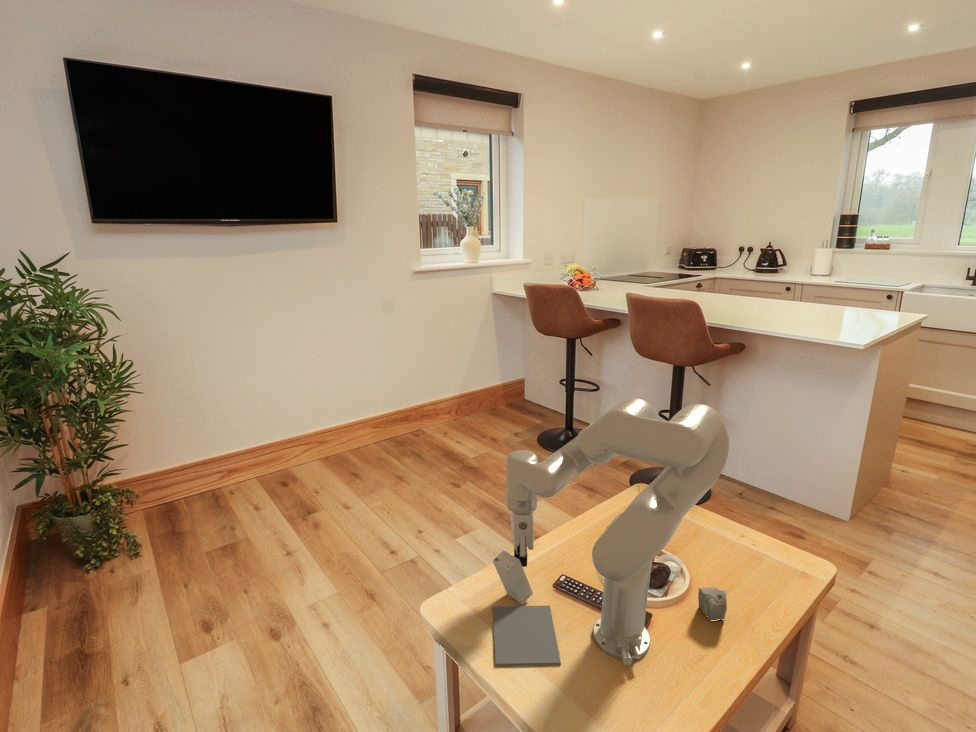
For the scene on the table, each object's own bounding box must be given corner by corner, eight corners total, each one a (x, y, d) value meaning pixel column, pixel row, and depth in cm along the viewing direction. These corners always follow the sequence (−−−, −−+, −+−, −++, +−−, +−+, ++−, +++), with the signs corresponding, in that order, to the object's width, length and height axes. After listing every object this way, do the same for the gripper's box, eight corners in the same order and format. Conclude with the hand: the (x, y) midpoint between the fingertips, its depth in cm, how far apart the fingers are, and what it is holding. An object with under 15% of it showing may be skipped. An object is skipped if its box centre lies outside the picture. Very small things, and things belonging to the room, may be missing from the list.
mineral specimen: (685, 605, 129) (695, 577, 127) (717, 609, 130) (727, 581, 128) (700, 627, 122) (711, 597, 120) (734, 631, 123) (744, 602, 121)
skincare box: (533, 593, 131) (521, 558, 126) (521, 606, 129) (508, 571, 124) (517, 582, 136) (504, 548, 131) (505, 594, 133) (491, 560, 129)
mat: (560, 664, 113) (560, 662, 112) (495, 666, 112) (495, 663, 112) (549, 607, 129) (549, 605, 129) (492, 608, 128) (493, 606, 128)
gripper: (540, 517, 120) (538, 584, 125) (533, 484, 134) (532, 546, 139) (507, 517, 120) (507, 585, 125) (504, 485, 134) (504, 546, 139)
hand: (520, 564), depth 132 cm, fingers closed
